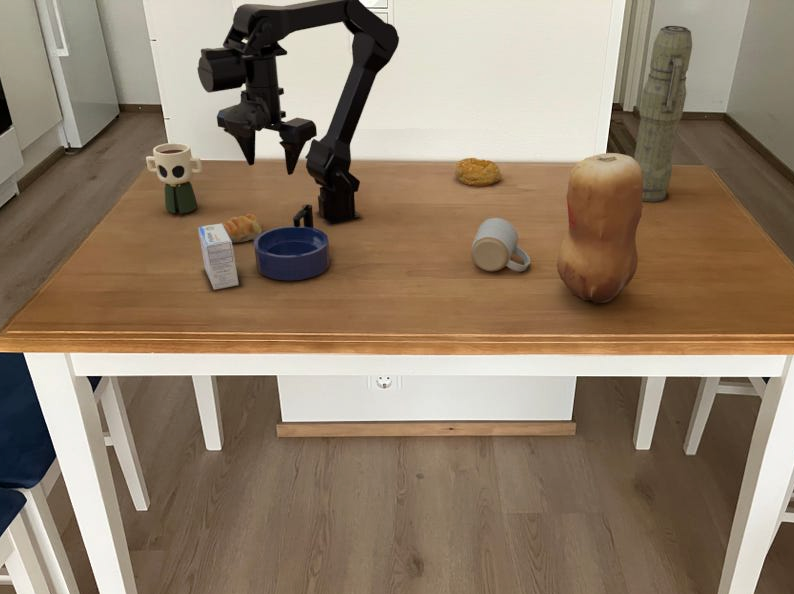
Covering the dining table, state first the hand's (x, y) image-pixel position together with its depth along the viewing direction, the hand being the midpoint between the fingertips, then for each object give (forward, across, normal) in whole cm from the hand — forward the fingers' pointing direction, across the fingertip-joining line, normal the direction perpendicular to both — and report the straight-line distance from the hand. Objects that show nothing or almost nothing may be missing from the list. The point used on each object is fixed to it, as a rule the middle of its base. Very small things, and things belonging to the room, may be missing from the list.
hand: (270, 169), depth 145 cm
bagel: (+13, +20, +47) cm, 53 cm away
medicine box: (+13, +4, -20) cm, 24 cm away
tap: (+13, +10, -3) cm, 17 cm away
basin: (+13, +11, -9) cm, 20 cm away
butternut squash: (+13, +62, +8) cm, 64 cm away
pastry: (+13, -5, -5) cm, 15 cm away
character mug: (+13, -24, -1) cm, 27 cm away
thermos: (+13, +56, +60) cm, 83 cm away
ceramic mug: (+13, +43, +11) cm, 46 cm away
